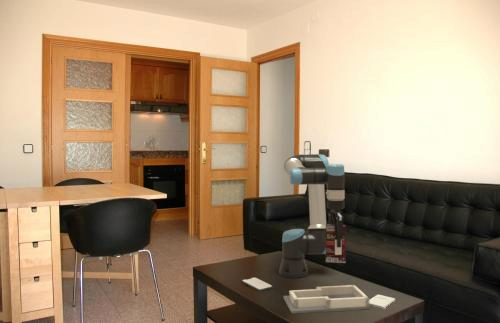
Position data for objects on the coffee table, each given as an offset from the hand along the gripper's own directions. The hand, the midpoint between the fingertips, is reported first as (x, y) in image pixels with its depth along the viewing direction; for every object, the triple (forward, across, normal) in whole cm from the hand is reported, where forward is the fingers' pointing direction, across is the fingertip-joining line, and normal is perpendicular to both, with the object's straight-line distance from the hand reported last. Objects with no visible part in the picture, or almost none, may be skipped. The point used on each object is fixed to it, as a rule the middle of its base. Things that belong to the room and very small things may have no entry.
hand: (335, 252), depth 173 cm
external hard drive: (+22, +3, +19) cm, 29 cm away
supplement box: (+4, 0, 0) cm, 4 cm away
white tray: (+21, +1, -6) cm, 22 cm away
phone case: (+22, -25, -32) cm, 46 cm away
